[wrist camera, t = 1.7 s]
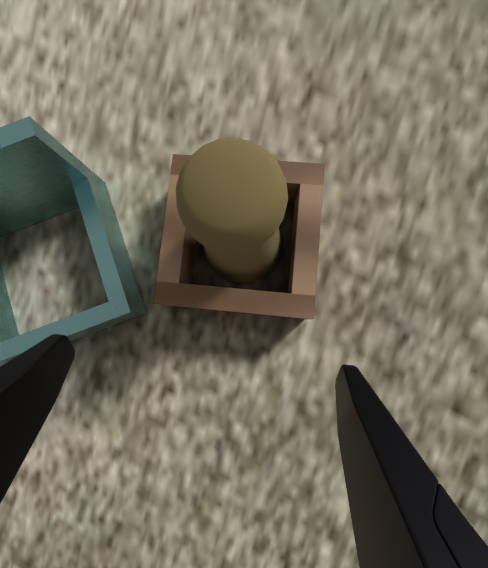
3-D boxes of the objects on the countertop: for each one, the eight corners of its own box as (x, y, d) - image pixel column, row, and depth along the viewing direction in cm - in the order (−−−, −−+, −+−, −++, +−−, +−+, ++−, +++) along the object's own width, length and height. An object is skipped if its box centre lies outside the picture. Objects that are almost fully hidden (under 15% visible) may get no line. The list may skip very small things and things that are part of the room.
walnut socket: (305, 319, 22) (313, 319, 19) (169, 305, 23) (153, 303, 19) (314, 187, 23) (324, 164, 20) (185, 178, 24) (173, 154, 20)
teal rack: (147, 312, 23) (87, 310, 15) (10, 364, 23) (-122, 388, 15) (104, 182, 24) (29, 116, 16) (-24, 231, 24) (-161, 189, 16)
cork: (247, 300, 22) (235, 283, 12) (189, 250, 23) (126, 191, 12) (298, 240, 23) (332, 170, 12) (238, 193, 24) (220, 86, 13)
